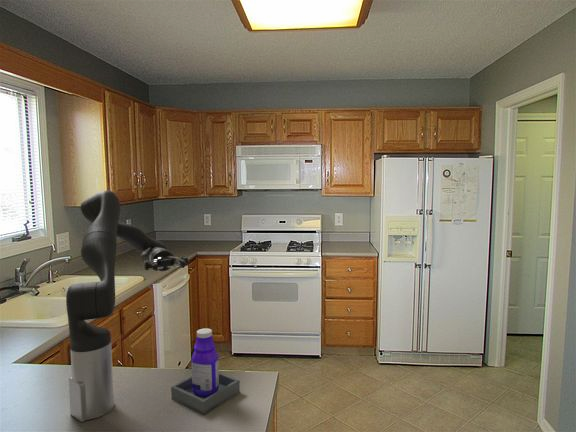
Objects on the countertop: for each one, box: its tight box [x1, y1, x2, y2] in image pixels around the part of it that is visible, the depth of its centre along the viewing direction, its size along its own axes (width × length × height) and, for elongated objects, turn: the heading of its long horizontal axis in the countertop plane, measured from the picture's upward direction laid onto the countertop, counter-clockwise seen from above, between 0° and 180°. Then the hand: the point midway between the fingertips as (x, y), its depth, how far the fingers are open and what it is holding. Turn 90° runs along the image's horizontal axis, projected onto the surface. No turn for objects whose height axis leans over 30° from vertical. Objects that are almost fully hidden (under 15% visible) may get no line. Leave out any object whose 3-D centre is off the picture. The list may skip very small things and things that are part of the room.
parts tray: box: [170, 371, 241, 416], centre depth 101 cm, size 13×13×4 cm
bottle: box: [191, 327, 220, 397], centre depth 101 cm, size 7×6×17 cm
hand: (170, 266), depth 121 cm, fingers open, 8 cm apart
